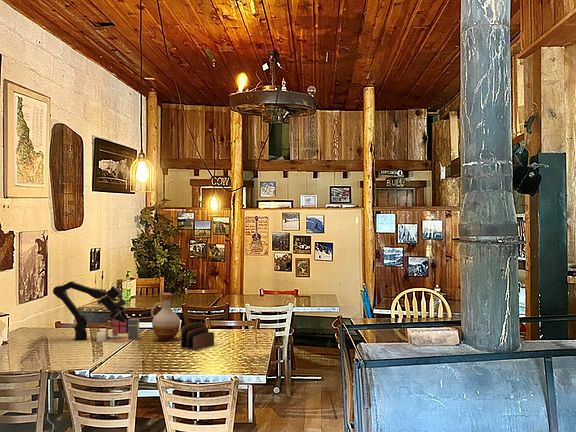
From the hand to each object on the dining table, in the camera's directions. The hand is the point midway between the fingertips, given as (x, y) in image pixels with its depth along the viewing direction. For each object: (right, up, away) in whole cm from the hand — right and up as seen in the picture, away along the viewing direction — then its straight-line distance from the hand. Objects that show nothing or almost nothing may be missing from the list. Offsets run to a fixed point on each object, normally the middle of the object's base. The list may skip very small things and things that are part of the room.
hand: (126, 321), depth 367 cm
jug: (+26, -12, -4) cm, 28 cm away
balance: (-13, -11, -1) cm, 17 cm away
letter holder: (+50, -11, -24) cm, 57 cm away
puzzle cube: (-10, -12, +23) cm, 28 cm away
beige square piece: (-14, -11, -9) cm, 20 cm away
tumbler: (+4, -11, 0) cm, 12 cm away
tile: (-1, -11, -8) cm, 14 cm away
